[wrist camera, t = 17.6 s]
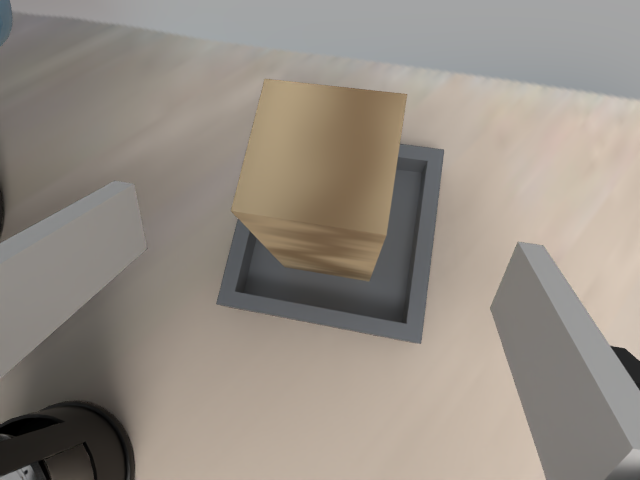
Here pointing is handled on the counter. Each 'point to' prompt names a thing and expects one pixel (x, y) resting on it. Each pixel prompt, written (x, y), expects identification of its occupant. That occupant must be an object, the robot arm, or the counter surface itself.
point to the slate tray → (345, 293)
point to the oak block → (321, 175)
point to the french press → (65, 442)
